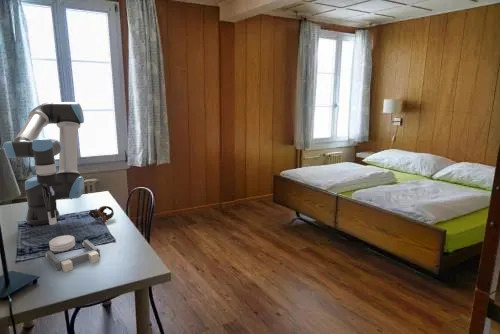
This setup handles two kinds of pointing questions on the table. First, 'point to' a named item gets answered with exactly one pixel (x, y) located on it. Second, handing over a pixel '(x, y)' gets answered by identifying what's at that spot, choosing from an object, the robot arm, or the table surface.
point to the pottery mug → (102, 213)
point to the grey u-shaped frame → (75, 257)
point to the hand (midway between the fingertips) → (53, 223)
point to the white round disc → (62, 243)
